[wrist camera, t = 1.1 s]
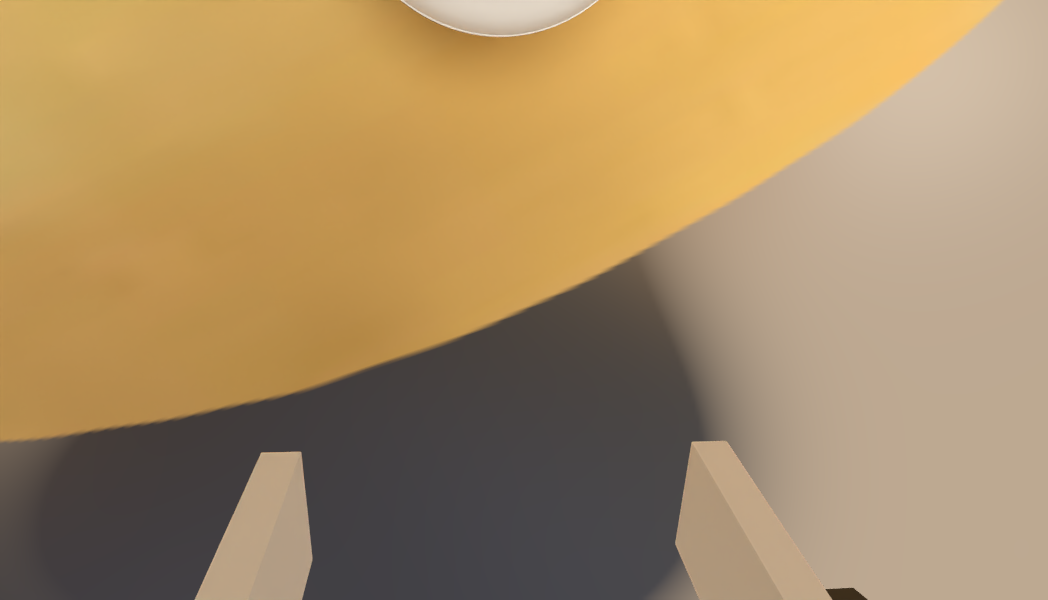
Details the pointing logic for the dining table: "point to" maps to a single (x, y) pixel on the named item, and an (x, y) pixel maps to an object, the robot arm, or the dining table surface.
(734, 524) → the robot arm
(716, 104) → the dining table surface
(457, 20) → the pill bottle
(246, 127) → the dining table surface
